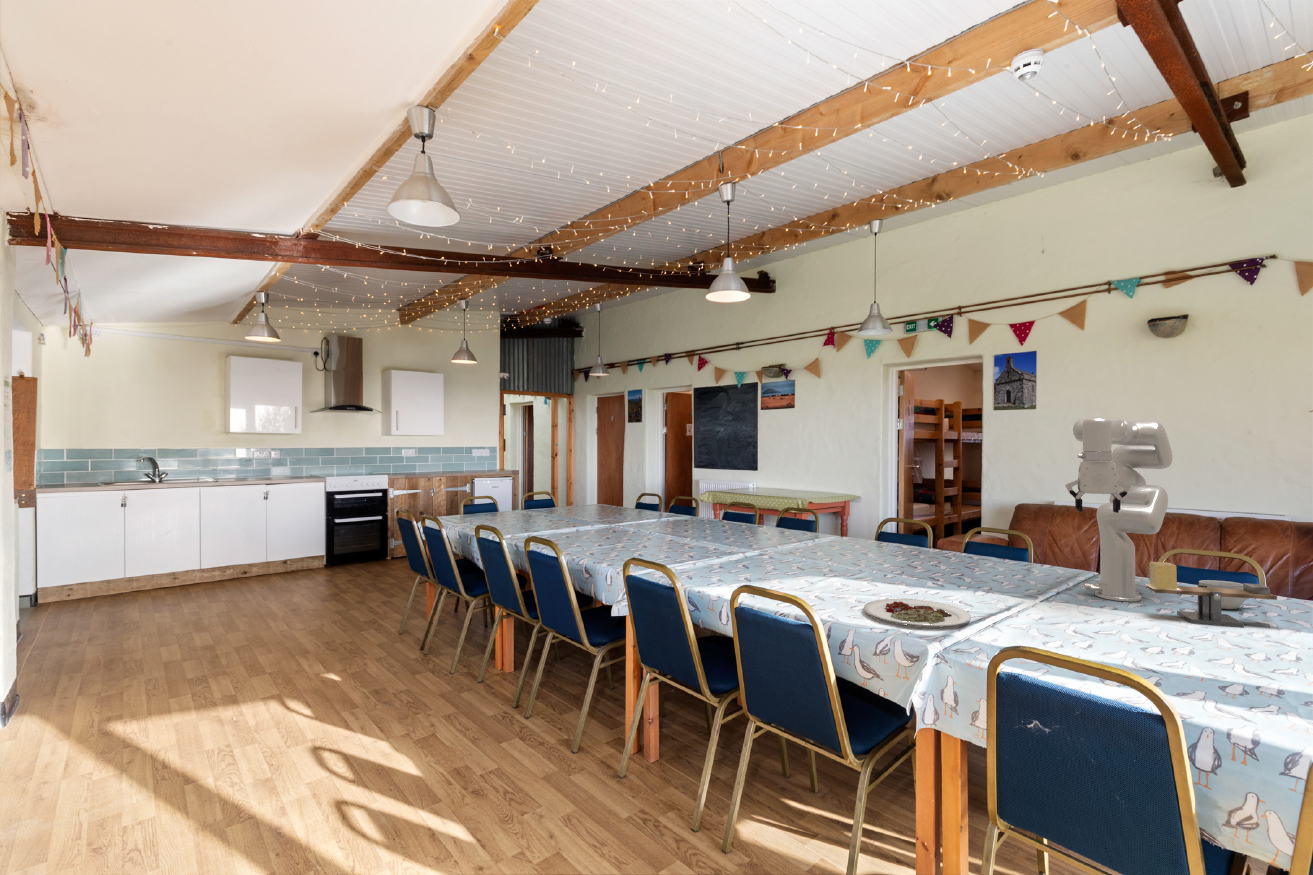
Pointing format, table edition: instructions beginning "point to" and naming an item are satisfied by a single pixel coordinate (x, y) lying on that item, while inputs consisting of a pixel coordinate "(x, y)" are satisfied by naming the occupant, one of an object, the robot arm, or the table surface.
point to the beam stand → (1210, 612)
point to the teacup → (1226, 601)
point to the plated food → (917, 612)
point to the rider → (1163, 575)
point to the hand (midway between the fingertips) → (1097, 511)
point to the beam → (1222, 591)
